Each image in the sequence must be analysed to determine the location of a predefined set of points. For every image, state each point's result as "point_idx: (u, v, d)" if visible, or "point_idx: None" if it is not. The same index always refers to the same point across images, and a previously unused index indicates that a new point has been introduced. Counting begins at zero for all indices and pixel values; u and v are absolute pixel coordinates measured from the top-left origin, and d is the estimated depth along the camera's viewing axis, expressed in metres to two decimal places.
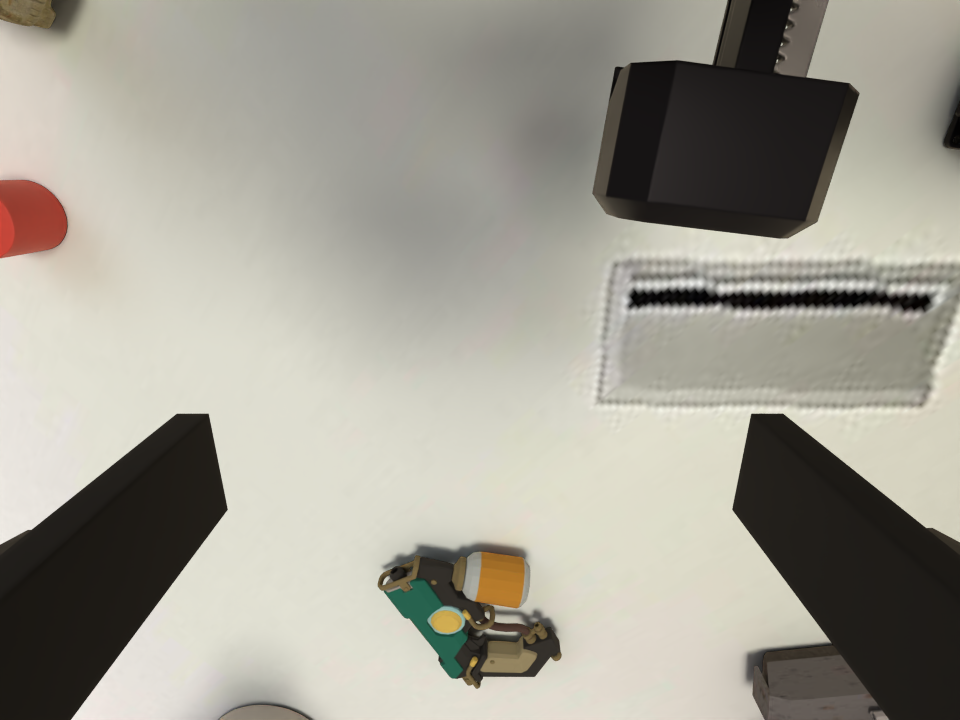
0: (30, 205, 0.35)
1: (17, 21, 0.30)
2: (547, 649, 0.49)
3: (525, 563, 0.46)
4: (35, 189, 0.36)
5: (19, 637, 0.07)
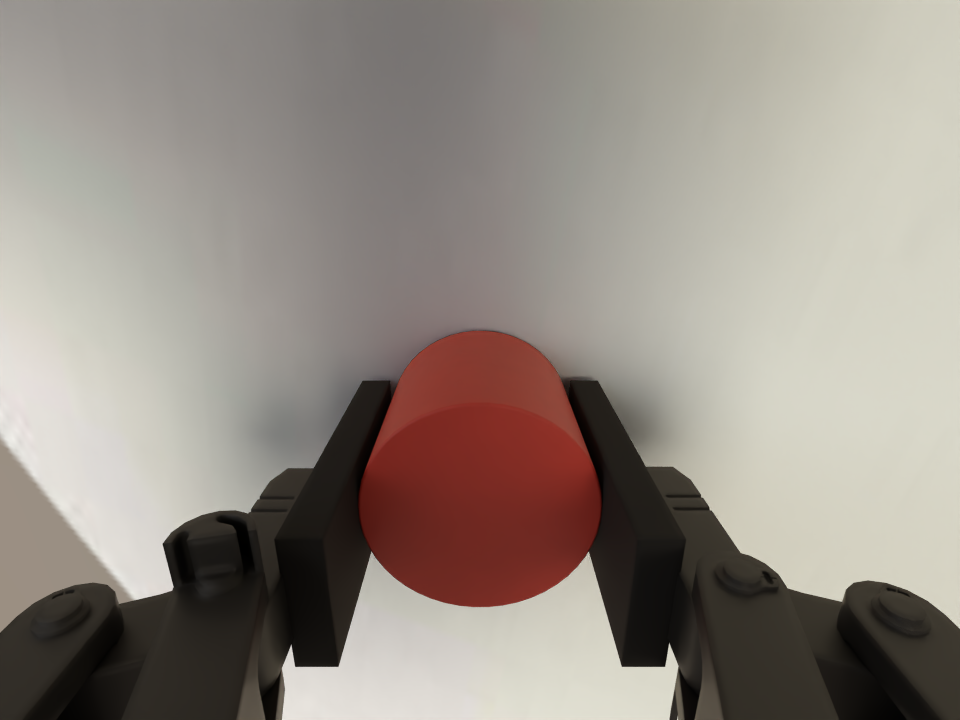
0: (558, 397, 0.12)
1: None
2: None
3: None
4: (509, 346, 0.13)
5: (340, 539, 0.09)
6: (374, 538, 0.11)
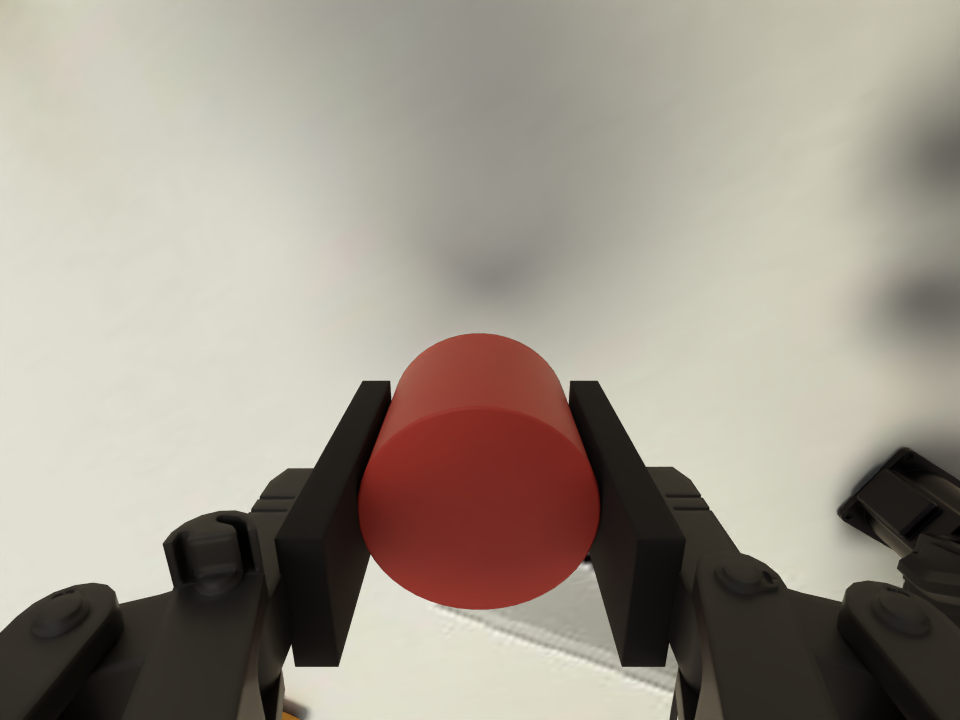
0: (557, 400, 0.12)
1: None
2: None
3: None
4: (508, 349, 0.13)
5: (340, 539, 0.09)
6: (373, 541, 0.11)
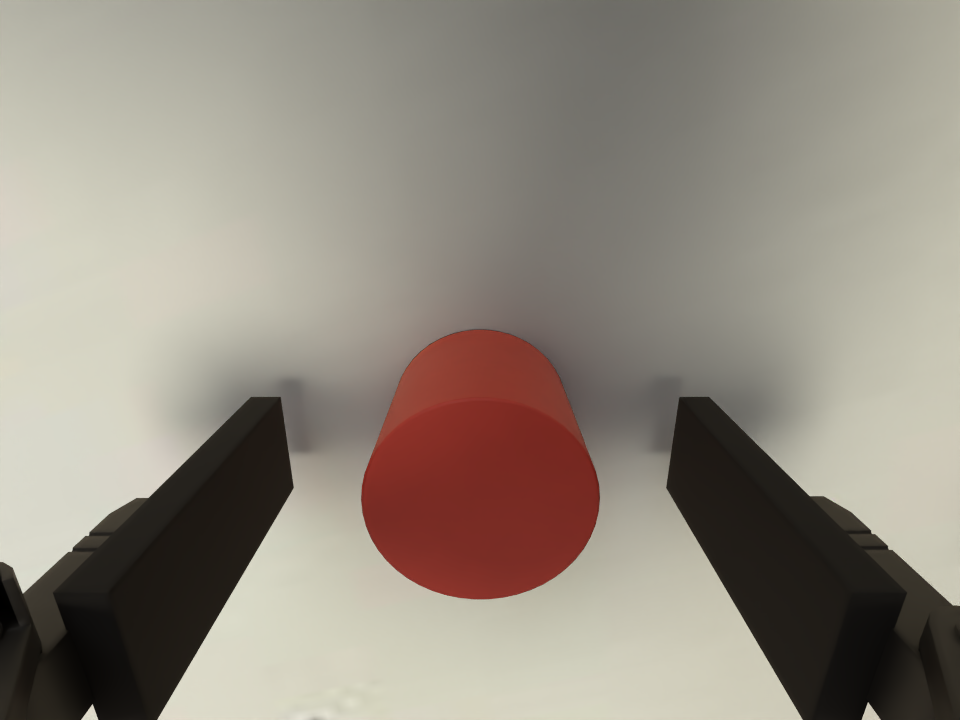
0: (557, 393, 0.12)
1: None
2: None
3: None
4: (509, 345, 0.13)
5: (156, 585, 0.08)
6: (377, 531, 0.11)
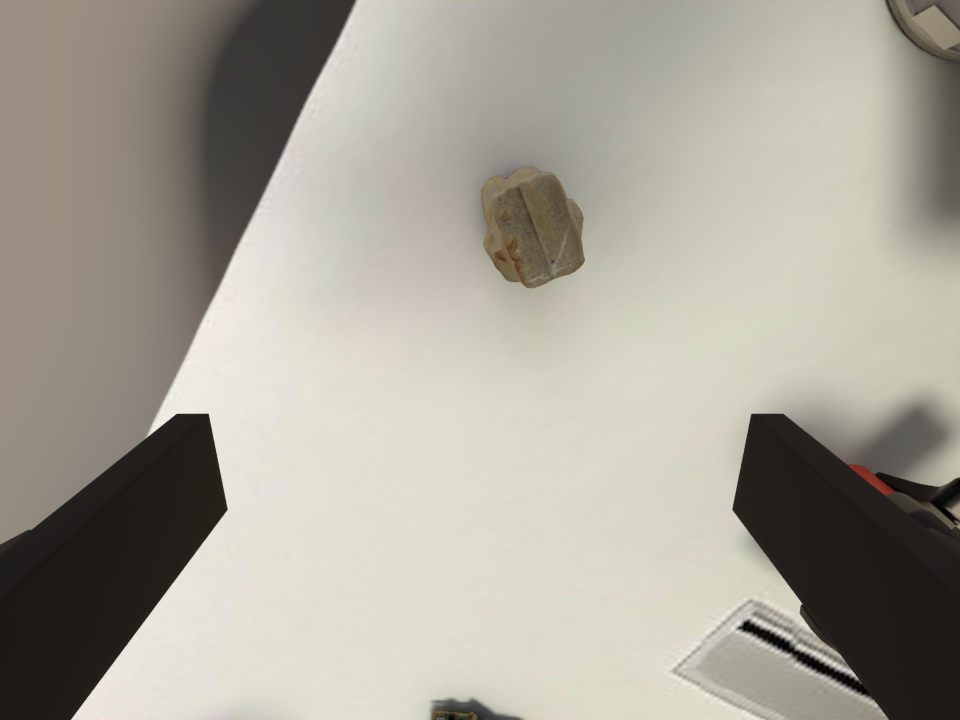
0: None
1: None
2: None
3: None
4: (868, 472, 0.45)
5: (19, 637, 0.07)
6: None
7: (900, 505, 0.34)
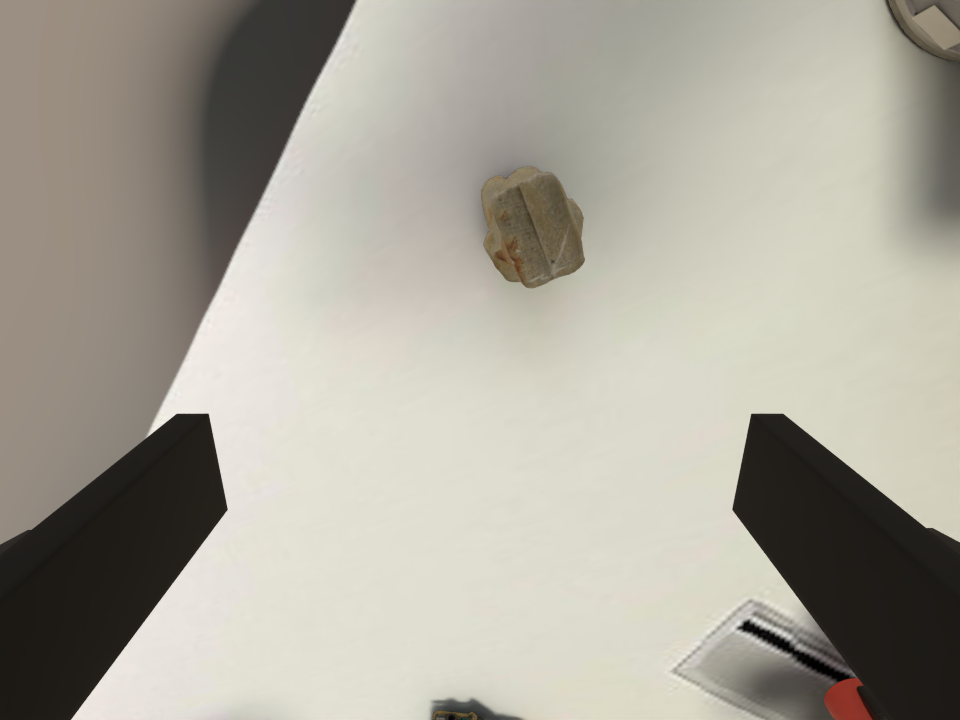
0: None
1: None
2: None
3: None
4: (849, 690, 0.49)
5: (19, 637, 0.07)
6: None
7: None
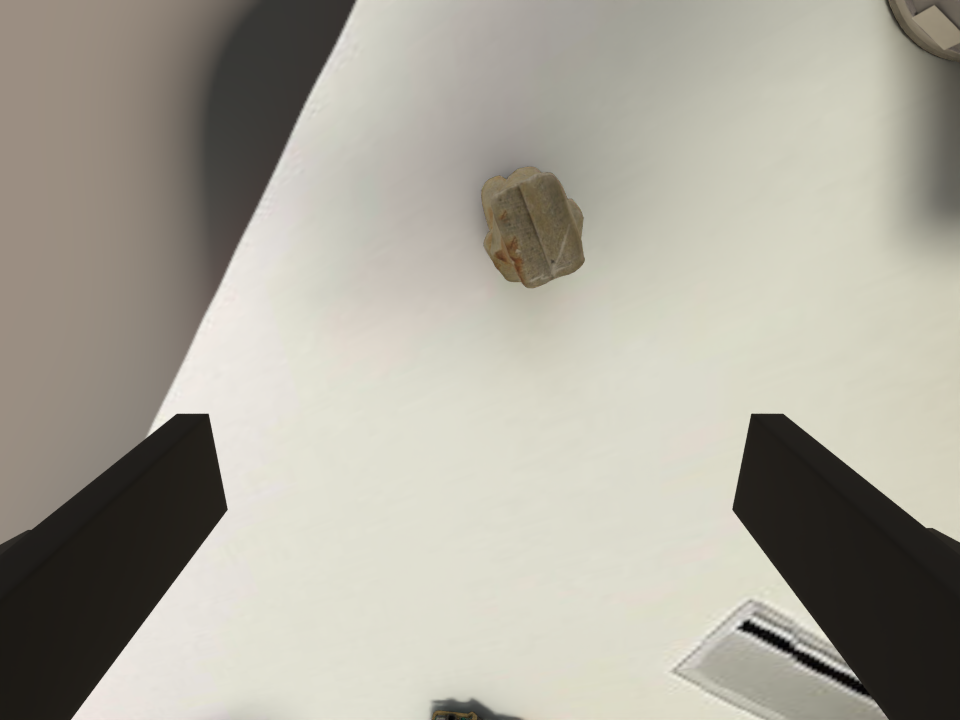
0: None
1: None
2: None
3: None
4: None
5: (19, 637, 0.07)
6: None
7: None
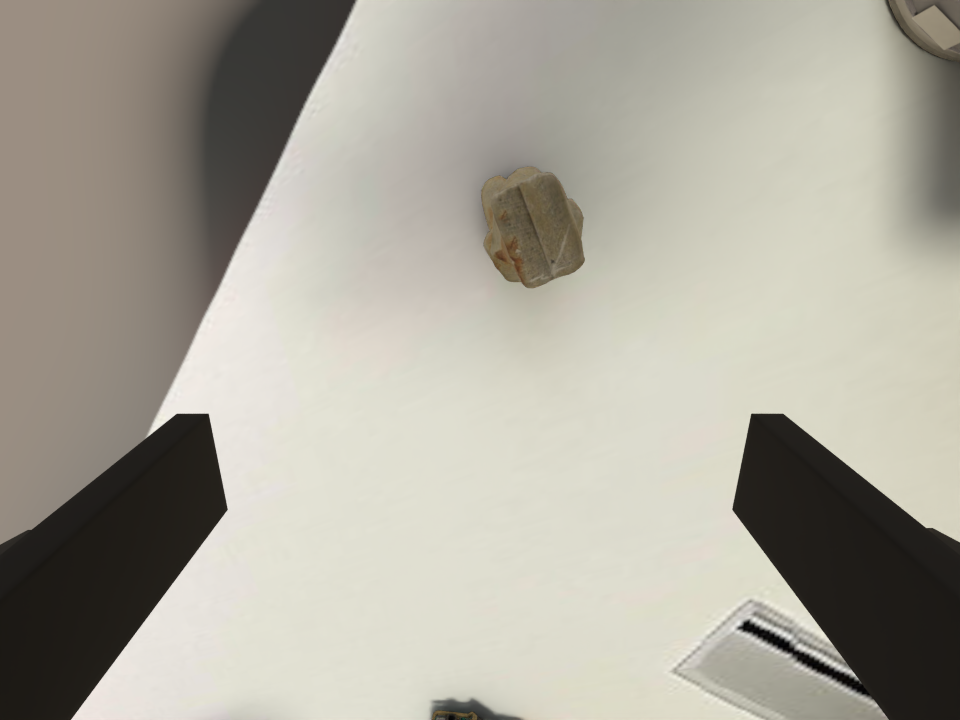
0: None
1: None
2: None
3: None
4: None
5: (19, 637, 0.07)
6: None
7: None
